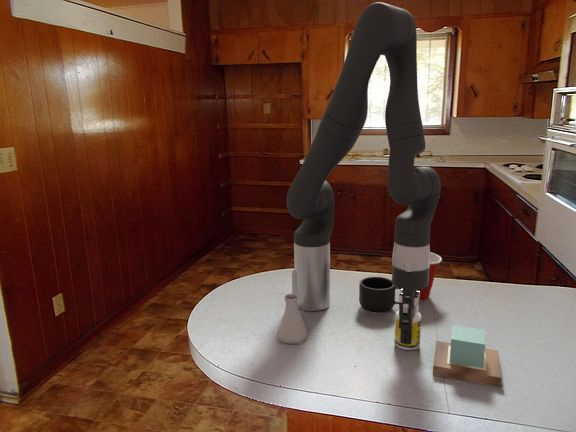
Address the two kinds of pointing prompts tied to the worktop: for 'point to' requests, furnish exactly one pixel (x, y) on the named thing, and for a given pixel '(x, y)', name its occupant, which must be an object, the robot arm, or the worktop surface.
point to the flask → (291, 323)
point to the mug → (377, 294)
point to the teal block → (467, 346)
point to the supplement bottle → (415, 332)
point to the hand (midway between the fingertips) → (407, 335)
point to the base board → (467, 367)
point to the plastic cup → (430, 275)
